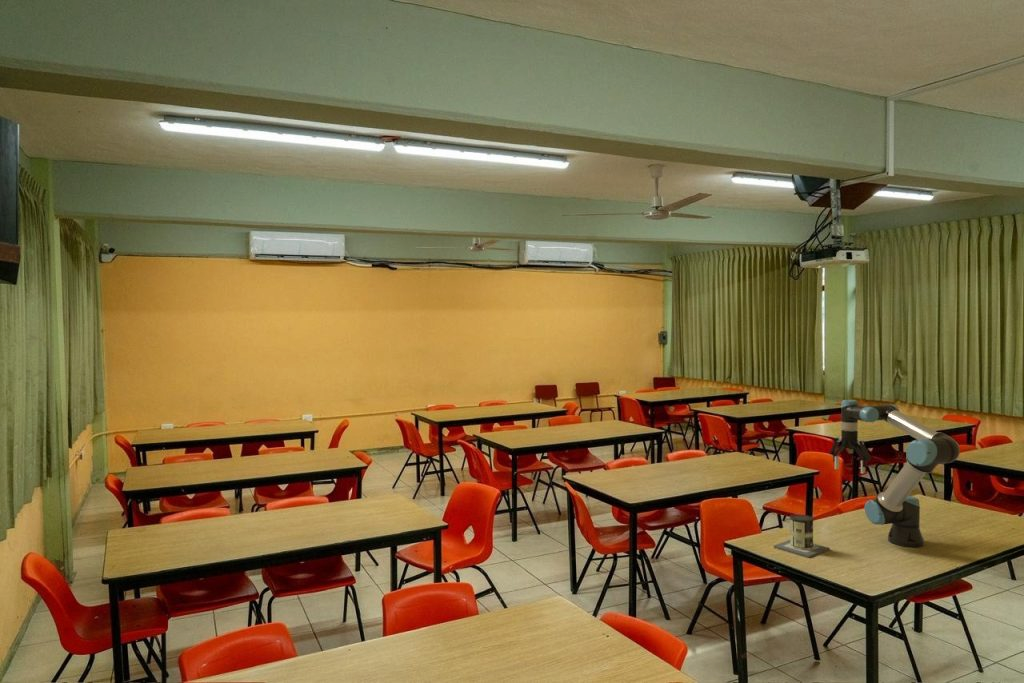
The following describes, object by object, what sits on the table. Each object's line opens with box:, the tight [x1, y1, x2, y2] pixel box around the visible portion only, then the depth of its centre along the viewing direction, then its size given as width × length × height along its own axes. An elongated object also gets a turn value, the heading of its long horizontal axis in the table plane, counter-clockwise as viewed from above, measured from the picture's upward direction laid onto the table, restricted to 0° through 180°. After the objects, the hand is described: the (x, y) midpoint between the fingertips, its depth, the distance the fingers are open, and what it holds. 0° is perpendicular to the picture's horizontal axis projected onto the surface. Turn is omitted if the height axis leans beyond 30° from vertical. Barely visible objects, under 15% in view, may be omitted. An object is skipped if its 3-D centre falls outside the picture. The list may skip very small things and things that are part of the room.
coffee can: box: [789, 514, 814, 550], centre depth 319 cm, size 10×10×14 cm
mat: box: [773, 539, 831, 559], centre depth 319 cm, size 18×18×1 cm
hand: (849, 470), depth 343 cm, fingers open, 13 cm apart
